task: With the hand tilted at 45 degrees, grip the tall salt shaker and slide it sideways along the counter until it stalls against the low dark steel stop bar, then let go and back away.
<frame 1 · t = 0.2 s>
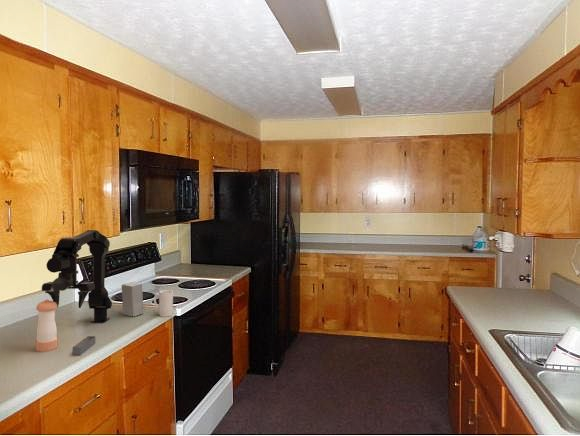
hand: (68, 307, 164), 14 cm above the worktop, tool pointing down, fingers open, 9 cm apart
salt shaker: (46, 348, 158), on the worktop
mug: (162, 315, 205), on the worktop
steel stop bar: (84, 349, 158), on the worktop
skincare box: (132, 314, 204), on the worktop
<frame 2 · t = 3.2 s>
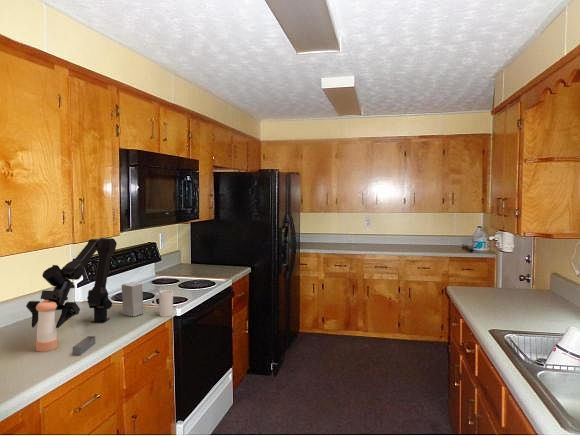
hand: (44, 327, 156), 9 cm above the worktop, tool tilted 45°, fingers open, 9 cm apart
salt shaker: (46, 348, 158), on the worktop, touching gripper
everything else where it was.
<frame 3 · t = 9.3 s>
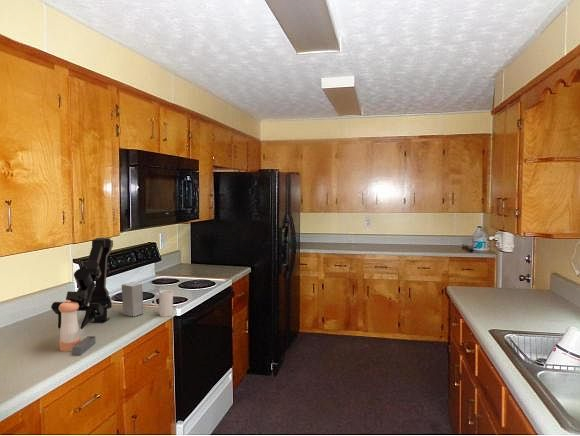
hand: (70, 328, 156), 9 cm above the worktop, tool tilted 45°, fingers open, 8 cm apart
salt shaker: (70, 347, 159), on the worktop, touching gripper
everything else where it was.
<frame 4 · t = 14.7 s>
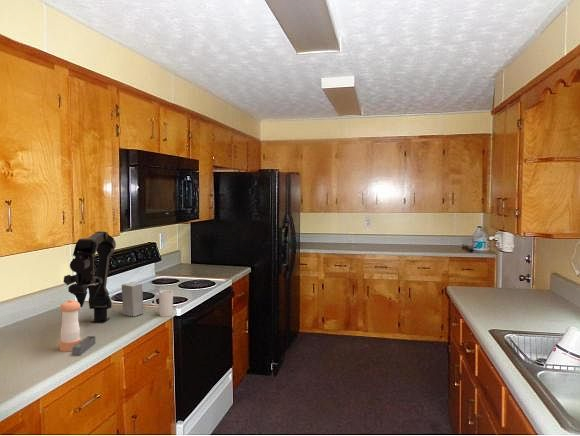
hand: (86, 304, 174), 13 cm above the worktop, tool pointing down, fingers open, 9 cm apart
salt shaker: (70, 348, 159), on the worktop
everything else where it was.
at the end: salt shaker 0.7 cm from the target spot on the worktop beside the steel stop bar, on the worktop; salt shaker tilted 0°; the gripper is holding nothing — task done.
